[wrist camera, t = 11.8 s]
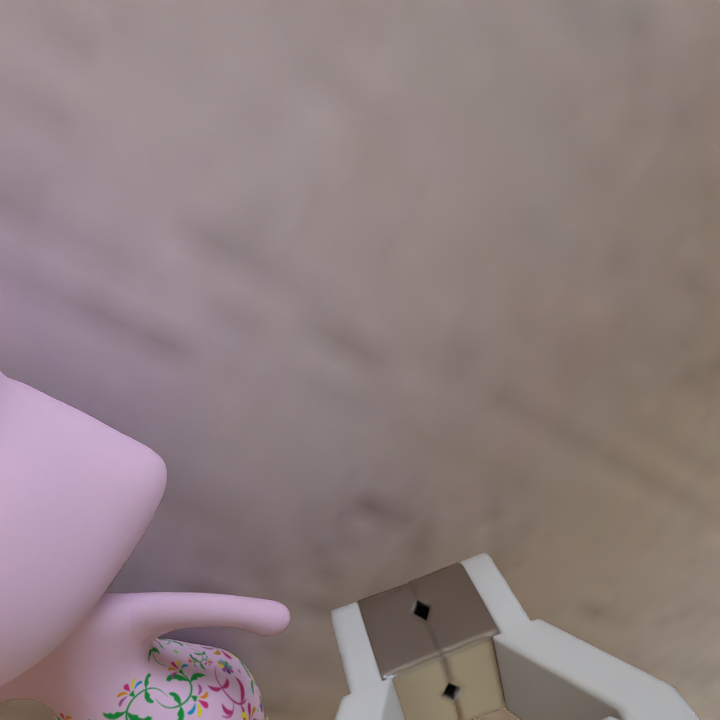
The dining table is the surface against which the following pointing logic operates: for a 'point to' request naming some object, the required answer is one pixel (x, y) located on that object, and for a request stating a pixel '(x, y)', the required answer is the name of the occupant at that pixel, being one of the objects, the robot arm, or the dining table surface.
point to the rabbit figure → (101, 580)
